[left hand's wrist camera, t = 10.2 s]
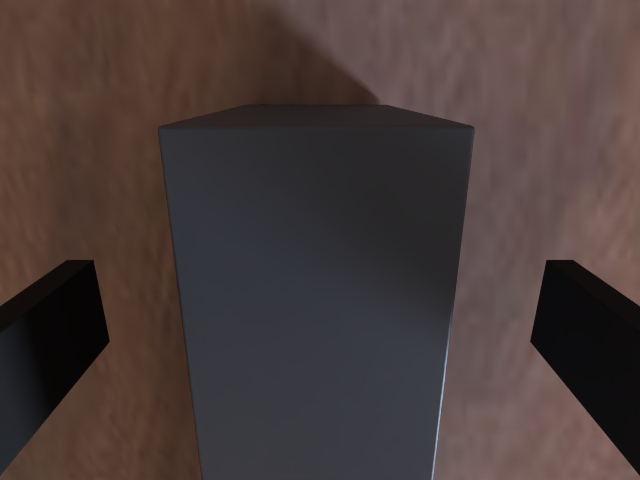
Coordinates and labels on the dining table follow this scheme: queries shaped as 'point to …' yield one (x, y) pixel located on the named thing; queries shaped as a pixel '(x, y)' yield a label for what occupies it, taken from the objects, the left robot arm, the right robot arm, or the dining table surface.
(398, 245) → the bar
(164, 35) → the dining table surface
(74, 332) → the left robot arm
